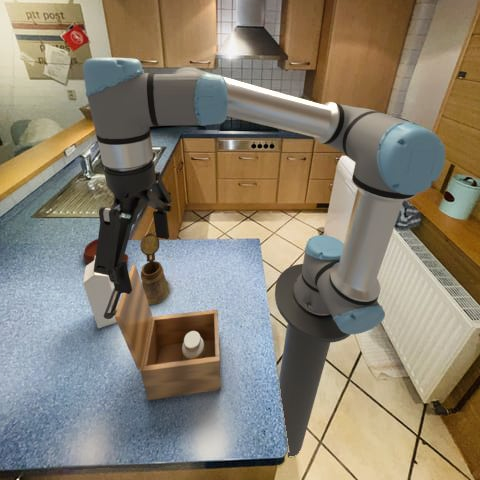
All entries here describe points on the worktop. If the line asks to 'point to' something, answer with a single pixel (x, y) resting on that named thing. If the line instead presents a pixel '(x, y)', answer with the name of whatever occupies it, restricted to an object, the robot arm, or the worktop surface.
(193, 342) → the supplement bottle
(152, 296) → the wooden mug
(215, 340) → the chest
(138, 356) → the chest lid
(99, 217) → the robot arm
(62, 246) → the worktop surface
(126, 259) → the pottery
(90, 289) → the milk
